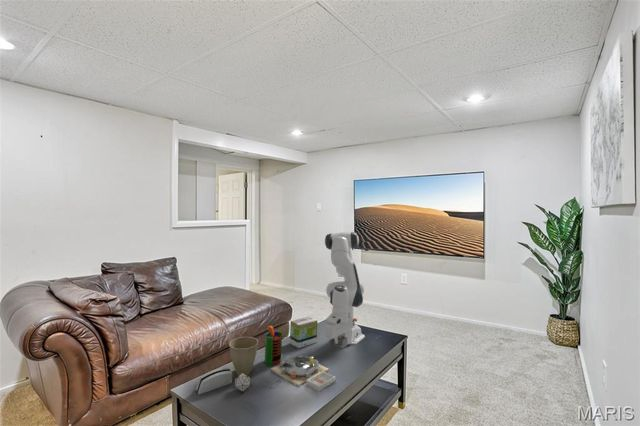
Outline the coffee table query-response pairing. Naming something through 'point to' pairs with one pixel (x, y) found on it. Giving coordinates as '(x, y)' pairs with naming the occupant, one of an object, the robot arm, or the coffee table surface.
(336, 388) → the coffee table surface
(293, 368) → the sprocket
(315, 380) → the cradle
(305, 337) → the tea box
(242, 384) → the game die
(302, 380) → the sprocket base
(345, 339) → the gray banded block
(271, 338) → the motor
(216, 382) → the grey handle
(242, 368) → the plant pot
